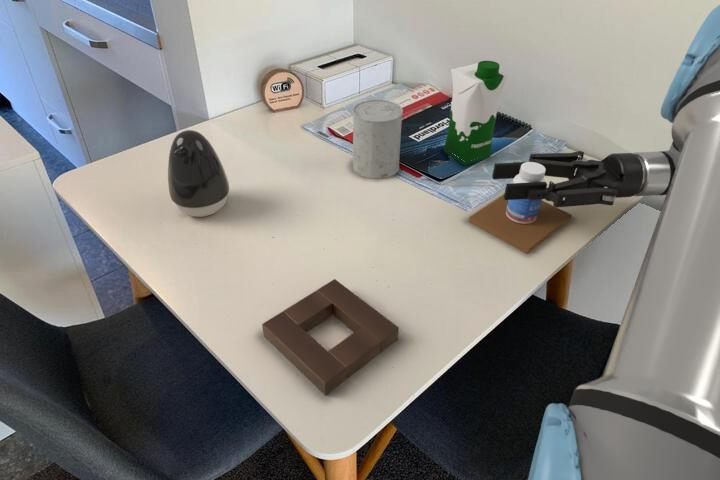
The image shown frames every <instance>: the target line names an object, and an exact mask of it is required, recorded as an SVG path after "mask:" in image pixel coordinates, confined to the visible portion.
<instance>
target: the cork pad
mask: <svg viewBox="0 0 720 480" xmlns="http://www.w3.org/2000/svg"><path fill="white" fill-rule="evenodd" d="M507 204H508V200H505V199H504V194H502V195H500V196H499V197H498V198H496V199H495V200H493V201H491V202H490V203H489V204H487V205H486V206H484V207H482V208H480V209H479V210H478V211H477V212H475V213H473V214H472V215H471V216H469V218H468V222H469V223H470V224H472V225H473V226H476V227H478V228H479V229H482V230H483V231H485V232H487V233H489V234H491V235H492V236H494V237H496V238H497V239H500V240H501V241H504V242H505V243H506V244H509V245H511V246H513V247H514V248H517V249H518V250H520V251H521V252H524V253H526V254H529V253H530V252H532V251H533V250H534V249H535V248H537V247H538V246H539V245H541V243H543V242H544V241H545V240H546V239H548V238H549V237H551V236H552V235H553V234H554V233H556V232H557V231H558V230H559V229H561V228H562V227H563V226H564V225H566V224H567V223H568V222H569V221H571V219H572V217H573V214H572V213H570V212H568V211H565V210H563V209H561V208H560V207H555V206H554V205H552V204H550V203H549V202H546V201H544V200H542V202H541V205H540V209H539V212H538V216H537V218H536V220H535V221H534V222H532V223H529V224H520V223H516V222H514V221H512V220H510V219H509V218H508V217H507V215H506V208H507Z"/></svg>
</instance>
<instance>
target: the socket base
mask: <svg viewBox="0 0 720 480" xmlns="http://www.w3.org/2000/svg"><path fill="white" fill-rule="evenodd" d="M332 316H333V317H334V318H335V319H336V320H338V321H339V322H340V323H342V324H343V325H344V326H346V327H347V328H348V329H349V330H350V331H352V332H353V333H351V334H350V335H348V336H347V337H345V338H344V339H343V340H342V341H340V342H339V343H337V344H336V345H335V346H333V347H332V348H330V349H329V350H327V349H326V348H325V347H324V346H322V344H320V343H319V342H318V341H317V340H316V339H315V338H313V337H312V336H311V335H310V334H309V333H308V332H310V331H311V330H313V329H314V328H316V327H317V326H319V325H320V324H322V323H323V322H325V321H326V320H327V319H329V318H331V317H332ZM261 327H262V328H261V329H262V333H263V337H264V338H265V339H266V340H267V341H268V342H269V343H270V344H271V345H272V346H273V347H274V348H275V349H276V350H278V352H279V353H281V355H283V356H284V357H285V358H286V359H287V361H288V362H289V363H291V364H292V365H293V366H294V367H295V368H296V369H297V370H298V371H299V372H300V373H301V374H302V375H303V376H304V377H305V378H307V380H309V382H311V383H312V384H313V385H314V386H315V387H316V388H317V389H318V390H319V391H320V392H321V393H322V394H323V395H324V396H327V395H329V394H330V393H331V392H332V391H333V390H335V389H336V388H337V387H339V386H340V385H341V384H343V383H344V382H345V381H346V380H348V379H349V378H350V377H352V376H353V375H355V373H357V372H359V371H360V370H361V369H362V368H364V367H365V366H366V365H367V364H369V363H370V362H372V360H374V359H375V358H377V357H378V356H380V354H382V353H383V352H385V351H386V350H387V349H388V348H390V347H391V346H392V345H394V344H395V343H396V342H398V340H399V333H400V327H399V326H397V325H396V324H395V323H394V322H392V321H391V320H390V319H389V318H387V317H386V316H384V315H383V314H381V312H379V311H378V310H377V309H375V308H374V307H373V306H372V305H370V304H368V303H367V302H366V301H364V300H363V299H362V298H360V296H358V295H357V294H355V293H354V292H352V290H350V289H349V288H347V287H346V286H344V285H343V283H341V282H339V281H338V280H337V279H335V278H334V279H332V280H331V281H328V282H327V283H325V284H324V285H323V286H321V287H319V288H317V289H316V290H315V291H313V292H312V293H310V294H308V295H306V296H305V297H303V298H302V299H300V300H298V301H297V302H295V303H293V304H291V305H290V306H289V307H287V308H285V309H284V310H282V311H281V312H279V313H278V314H276V315H275V316H272V317H271V318H270V319H268V320H266V321H264V322H263V323H262V324H261Z"/></svg>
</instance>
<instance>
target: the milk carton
mask: <svg viewBox="0 0 720 480" xmlns="http://www.w3.org/2000/svg"><path fill="white" fill-rule="evenodd" d="M500 65H501V64H500V63H498V62H496V61H494V60H493V61H492V60H481V61H479V62H476V63H472V64H468V65H464V66H460V67H456V68H452V69H451V70H450V71H451V82H452V95H451V96H452V98H451V106H450V114H449V120H448V121H449V122H448V129H447V135H446V138H445V143H444V147H445V148H446V149H447V150H446V149H445V148H444V147H443V152H444V153H445V154H446V155H448V156H450V157H451V158H452V159H454V160H456V161H457V162H459V163H460V164H462V165H463V166H465V167H466V166H470V165H472V164H475V163H478V162H481V161H483V160H487V159H489V158H491V155H492V145H493V135H494V131H495V125H496V120H497V115H498V109H499V103H500V98H501V94H502V92H503V89H504V86H505V84H506V82H507V80H508V77H509V74H508V73H506V72H503V71H502V70H500ZM448 150H449V151H451V152H452V153H453V154H452V153H451V152H449V151H448ZM454 154H455V155H456V156H455V155H454ZM457 156H458V157H459V158H458V157H457ZM477 158H478V159H477ZM461 159H462V160H461ZM474 159H475V160H474ZM463 160H464V161H465V162H464V161H463ZM471 160H472V161H471Z"/></svg>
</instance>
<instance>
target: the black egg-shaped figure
mask: <svg viewBox="0 0 720 480" xmlns="http://www.w3.org/2000/svg"><path fill="white" fill-rule="evenodd" d="M167 186H168V193H169V197H170V199H171V201H172V202H173V203H174V204H175V206H176V207H177V208H178V209H179V210H180V211H181V212H182V213H184V214H186V215H189V216H190V217H191V216H192V217H197V218H201V217H208V216H211V215H213V214H216V213H217V212H219V211H220V210H221V209H222V208H223V207H224V206H225V203H227V200H228V196H229V193H230V181H229V179H228V176H227V173H226V170H225V168H224V165H223V163H222V161H221V159H220V157H219V155H218V153H217V151H216V150H215V148H214V147H213V145H212V143H210V141H209V140H208V139H207V138H206V137H205V136H204V135H203V134H202V133H201V132H199V131H197V130H193V129H186V130H182V131H180V132H179V133H177V134H176V136H175V137H174V138H173V140H172V143H171V146H170V149H169V154H168V163H167Z"/></svg>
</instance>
